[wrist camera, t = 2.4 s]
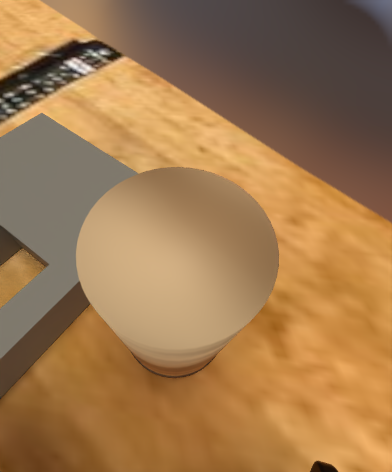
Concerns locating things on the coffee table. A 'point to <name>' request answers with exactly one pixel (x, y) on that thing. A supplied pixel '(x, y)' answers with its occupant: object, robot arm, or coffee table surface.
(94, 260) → the peg
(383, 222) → the coffee table surface
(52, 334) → the board
